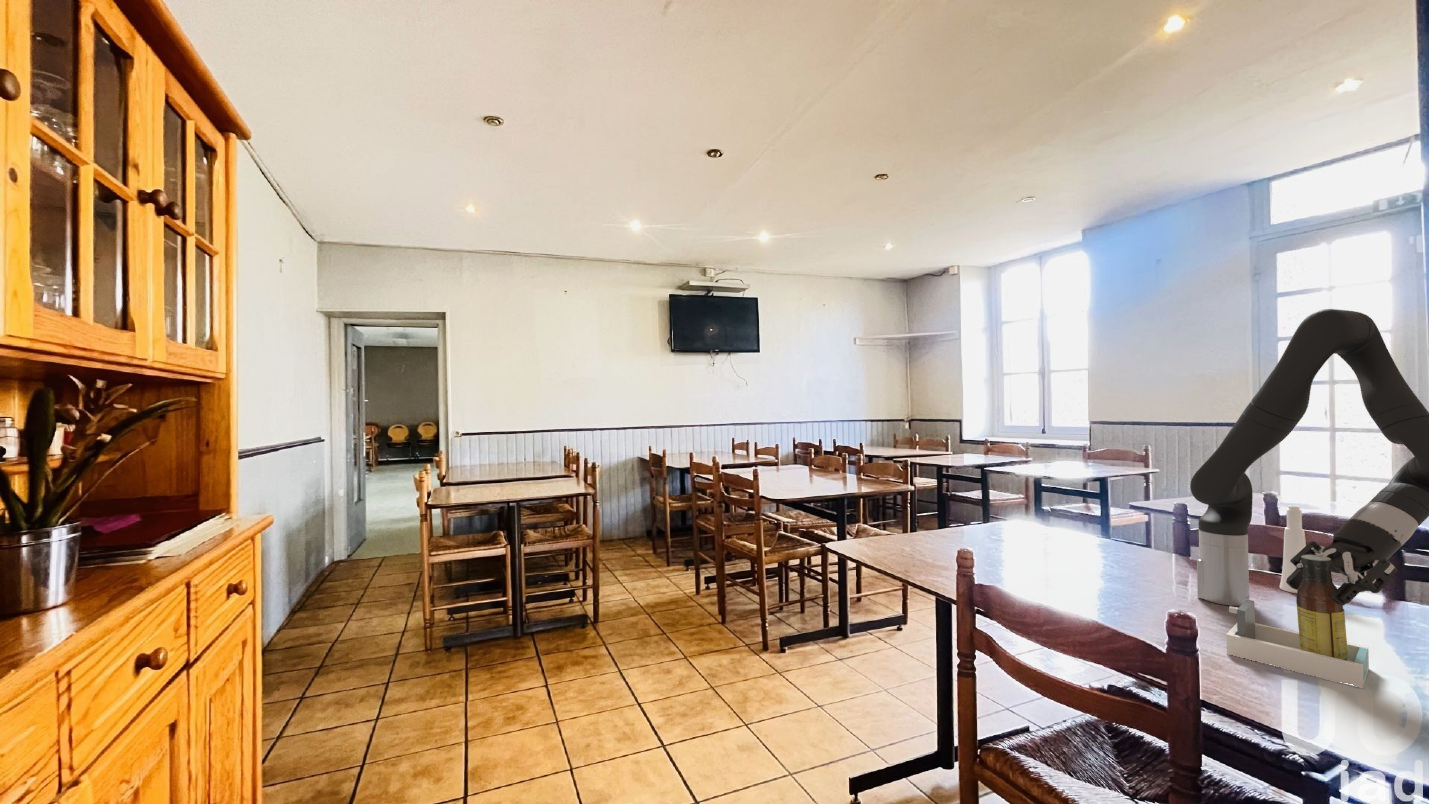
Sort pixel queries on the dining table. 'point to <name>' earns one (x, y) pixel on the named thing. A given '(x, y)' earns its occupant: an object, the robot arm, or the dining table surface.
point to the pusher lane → (1298, 655)
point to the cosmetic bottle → (1292, 544)
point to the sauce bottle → (1320, 610)
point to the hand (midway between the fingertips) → (1312, 593)
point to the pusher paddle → (1245, 619)
